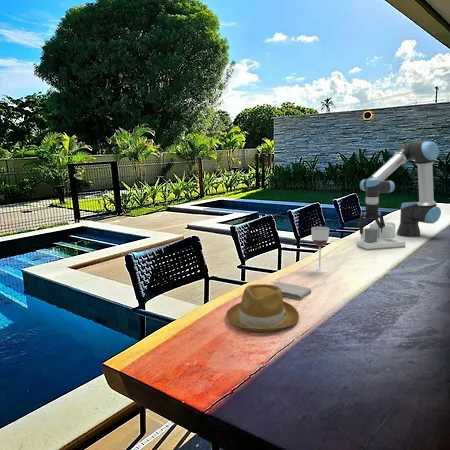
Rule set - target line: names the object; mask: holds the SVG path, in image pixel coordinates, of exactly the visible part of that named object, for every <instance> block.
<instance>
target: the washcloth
mask: <svg viewBox="0 0 450 450" xmlns="http://www.w3.org/2000/svg"><path fill="white" fill-rule="evenodd" d="M272 285H274V286H278V287H280V288H281V291H282V296H283V298H287V299H292V300H297V301H299V300H302V299H303V298H305V297H306V296H308V295H309V294H311V293H312V289H311V288H309V287H306V286H302V285H298V284H294V283H293V284H292V283H287V282H282V281H276V282H274V283H273V284H272Z"/></svg>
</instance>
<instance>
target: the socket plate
mask: <svg viewBox="0 0 450 450" xmlns="http://www.w3.org/2000/svg"><path fill="white" fill-rule="evenodd" d="M356 247H358V248H360V249H363V250H364V251H375V250H378V251H379V250H389V249H403V247H404V248H406V241H404V240H402V239H401V240H400V239H399V238H395V237H394V238H386V239H377V242H373V243H367V242H364V240H362V239H359V240H356Z"/></svg>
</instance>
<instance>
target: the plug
mask: <svg viewBox="0 0 450 450" xmlns="http://www.w3.org/2000/svg"><path fill="white" fill-rule="evenodd" d="M364 242H367V243H373V242H377V229H374V228H370V227H369V228H368V227H366V228H365V227H364Z"/></svg>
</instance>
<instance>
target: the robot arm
mask: <svg viewBox="0 0 450 450" xmlns="http://www.w3.org/2000/svg"><path fill="white" fill-rule="evenodd" d="M439 154H440V149H439V146H438V144H436V142H435V141H426V140H425V141H411V142H409V143H406V144H404V145H403V146H402V147H401V146H400V148H399V149H397V150H396V151H395V152H394V153H393V156H392V157H390V158H389V159H388V160H387V161H386V162H385V163H384V164H383V165H382V166H381V167H379V168H378V169H377V171H375V172H374V173H373V174H372V175H371V176H369V177H368V178H364V179H362V180H361V181H360V182H359V188H360V190H362V191H364V192H365V207H364V208H365V210H364V211H365V212H360V215H359V219H358V223H357V225H356V228H357V229H359V234H360V240H364V236H365V227H366V225H367V223H368V221H369V220H371V219H374V222H376V223H377V225H378V227H379V228H377V238H379V239H380V238H381V233H382V228H383V227H385V223H384V222H385V220H384V217H383V215H384V212H383V211H381V210H380V211H378V210H379V201H380V200H379V198H380V197H379V196H380V194H389V193H392V192H394V190H395V187H396V185H395V183H394V181H392V180H386V179H387V178H388V177H389V176H391V174H393V172H395V171H396V170H397V169H398V168H399V167H400V166H401V165H404V164H406V163H407V162H409V161H414V164H415V165H416V166H417V178H418V179H417V180H418V198H419V199H418V201H414V202H413V201H411V202H402V203H401V204H400V205H401V206H400V219H399V221H400V222H399V226H398V228H397V231H396V235H398V236H401V237H410V238H411V237H413V238H415V237H420V236H421V229H420V226H419V223H424V224H436V223H437V221H439V220H440V218H441V214H442V210H441V208H440V207H439V206H437V202H436V201H435V199H434V195H435V194H434V176H433V175H434V171H433V169H434V168H433V164H435V162H436V159H437V158H438V157H439Z"/></svg>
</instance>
